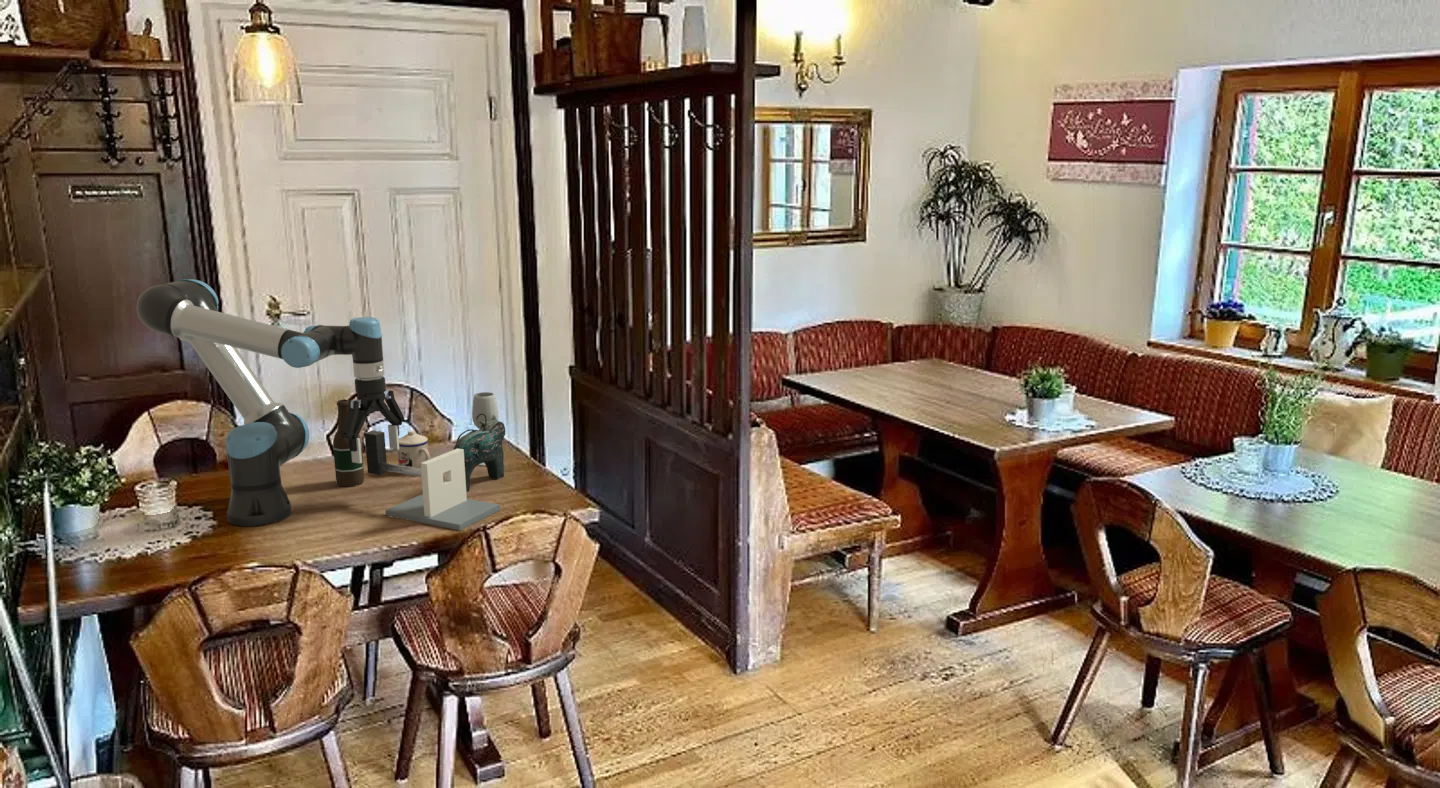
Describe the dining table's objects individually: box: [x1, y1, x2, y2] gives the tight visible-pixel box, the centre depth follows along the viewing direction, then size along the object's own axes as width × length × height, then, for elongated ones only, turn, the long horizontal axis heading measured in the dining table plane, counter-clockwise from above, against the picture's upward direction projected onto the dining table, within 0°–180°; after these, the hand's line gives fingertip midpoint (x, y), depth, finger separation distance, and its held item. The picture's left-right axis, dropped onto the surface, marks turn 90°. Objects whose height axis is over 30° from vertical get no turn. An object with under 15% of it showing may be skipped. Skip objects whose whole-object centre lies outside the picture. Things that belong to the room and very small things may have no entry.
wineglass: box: [471, 391, 499, 467], centre depth 301 cm, size 8×8×21 cm
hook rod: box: [363, 430, 422, 478], centre depth 264 cm, size 3×22×11 cm, turn 64°
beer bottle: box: [332, 399, 365, 488], centre depth 283 cm, size 8×8×24 cm
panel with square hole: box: [385, 448, 501, 531], centre depth 260 cm, size 16×24×16 cm, turn 65°
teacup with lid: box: [396, 430, 431, 469], centre depth 295 cm, size 12×9×12 cm
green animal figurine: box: [453, 413, 506, 493], centre depth 282 cm, size 20×6×20 cm, turn 152°
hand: (376, 455), depth 268 cm, fingers open, 13 cm apart
